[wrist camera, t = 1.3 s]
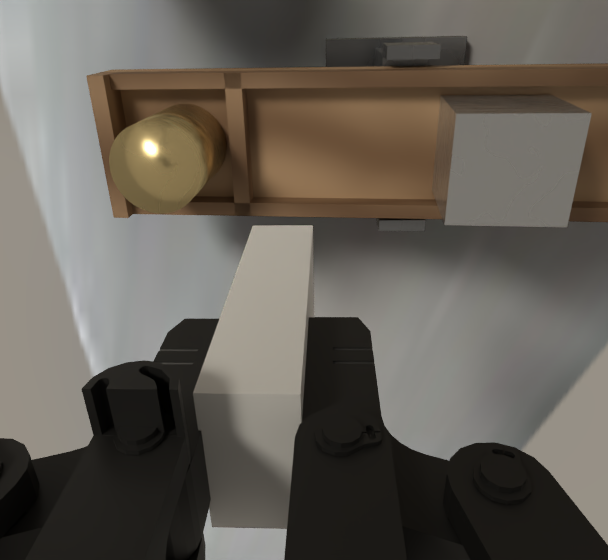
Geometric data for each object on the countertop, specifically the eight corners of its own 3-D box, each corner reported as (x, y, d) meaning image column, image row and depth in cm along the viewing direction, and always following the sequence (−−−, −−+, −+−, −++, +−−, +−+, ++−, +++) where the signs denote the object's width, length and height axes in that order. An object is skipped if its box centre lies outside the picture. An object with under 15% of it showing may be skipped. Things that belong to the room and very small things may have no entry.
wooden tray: (112, 69, 27) (86, 75, 25) (743, 61, 24) (786, 67, 22) (134, 200, 30) (114, 217, 28) (695, 208, 27) (728, 228, 25)
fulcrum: (326, 38, 31) (325, 46, 24) (463, 36, 31) (504, 43, 24) (326, 187, 35) (325, 231, 28) (448, 186, 35) (478, 230, 28)
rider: (440, 95, 25) (456, 113, 21) (551, 94, 24) (591, 113, 20) (431, 189, 27) (444, 224, 23) (533, 191, 27) (567, 227, 22)
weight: (145, 103, 27) (101, 122, 22) (223, 103, 26) (193, 122, 22) (157, 181, 28) (118, 212, 24) (230, 182, 28) (204, 214, 24)
